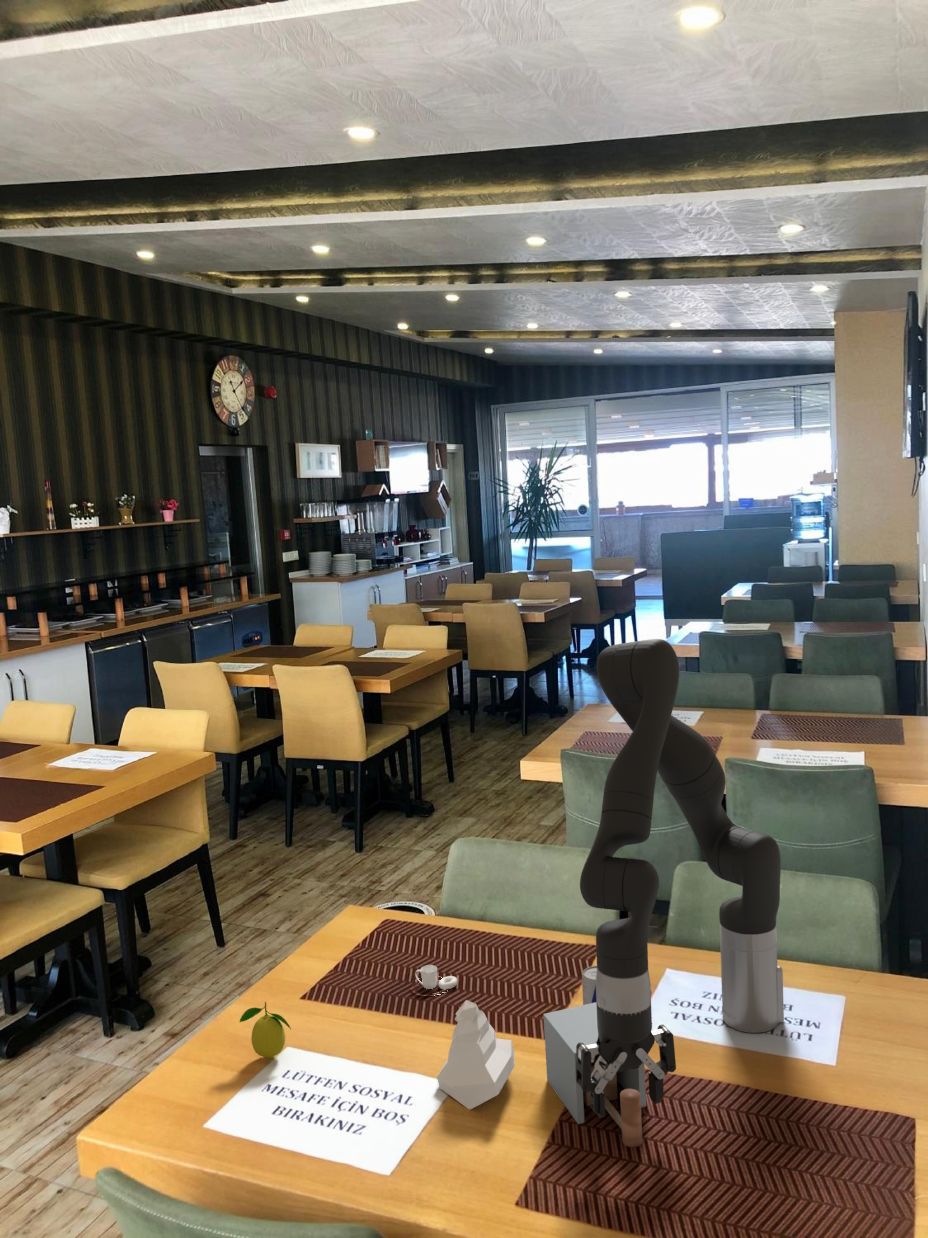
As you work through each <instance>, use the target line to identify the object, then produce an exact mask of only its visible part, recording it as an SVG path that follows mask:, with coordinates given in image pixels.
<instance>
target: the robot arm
mask: <svg viewBox="0 0 928 1238" xmlns="http://www.w3.org/2000/svg"><path fill="white" fill-rule="evenodd" d="M678 659H679V658H678V656H677V653H676V651H675V648H673V646H672V644H671V643H669V642H668V641H667V640H666V639H660V638H652V639H646V640H645V639H644V640H638V641H630V642H624V643H623V642H621V643H617V644H613V645H610V646H607V647H605V648H604V649H602V650H601V652H600V653H599V654H598V656H597V659H596V660H597V661H596V674H597V678H598V682H599V685H600V687H601V689H602V691H603V693H604V694H605V696H606V698H607V700H608V701H609V703H610V705H612V707H613V709H614V710H615V711H616V713H618V715H619V716H620V718H622V720H623V721H624V723H625V724H626V725H627V727H628V728H629V729H630V730H631V731H632V732H631V734H630V736H629V737H628V739H627V741H626V742H625V743H624V745H623V747H622V748H621V749H620V752H619V753H618V754H617V756H616V758H615V759H614V761H613V763H612V764H611V766H610V768H609V771H608V773H607V776H606V779H605V783H604V788H603V797H602V804H601V805H602V806H601V813H600V821H599V826H598V829H597V832H596V836H595V838H594V840H593V841H594V842H593V844H592V847H591V849H590V850H589V854H588V856H587V858H586V860H585V863H584V865H583V868H582V871H581V874H580V878H579V890H580V893H581V897H582V898H583V900H584V903H586V904H587V905H588V906H590V907H591V908H595V909H602V910H611V911H614V910H615V911H619V912H620V911H622V912H628V913H630V917H627V918H620V919H614V920H608V921H606V922H604V923H602V924H601V925H599V926H598V927H597V930H596V932H595V933H596V934H595V949H596V951H595V952H596V966H597V974H596V1004H597V1028H598V1039H597V1042H596V1044H591V1045H584V1043H582V1042H580V1043H578V1044H577V1046H576V1082H577V1083H578V1084H579V1086H580V1087H581V1089H582V1090H583V1091H584V1092H589V1091H590V1105H589V1106H590V1108H591V1109H592V1111H593V1112H594V1113H595V1115H597V1117H598V1118H600V1119H601V1118H604V1117H606V1108H605V1099H604V1092H603V1089H604V1088H605V1086H606V1084H607V1083H608V1081H611V1080H612V1079H613V1077H614V1075H615V1074H616V1072H617V1071H618V1072H624V1071H626V1070H628V1069H637V1068H639V1066H640V1065H641V1064H642V1063H644V1065H645V1066H646V1067H647V1068H648V1070H650V1071H649V1072H648V1073H647V1074H648V1092H649V1093H648V1096H649V1098H650V1100H651V1101H652V1102H653V1103H654V1105H657V1104H660V1103H662V1102H661V1101H662V1100H661V1099H663V1098H664V1096H665V1094H664V1092H665V1091H664V1090H665V1088H664V1078H665V1075H666V1074H668V1073H674V1072H675V1071H676V1069H677V1064H676V1063H677V1061H676V1052H675V1051H676V1049H675V1040H674V1034H673V1033H672V1032H671V1030H669V1028H668V1027H667V1026H666V1025H664V1024H659V1025H658V1026H657V1029H655V1030H653V1031H652V1029H653V1020H652V1019H653V1017H652V1015H653V1014H652V987H651V978H650V971H649V952H648V951H649V950H648V945H649V944H648V938H649V931H650V930H649V928H650V923H651V918H652V915H653V910H654V907H655V904H656V900H657V897H658V893H659V888H660V879H659V874H658V872H657V869H656V868H655V866H654V865H653V864H652V863H651V862H650V861H648V860H645V859H639V858H638V859H637V858H629V857H628V858H627V857H617V856H614V855H615V854H616V853H617V852H618V850H619V849H620V848H622V847H625V846H626V847H627V846H630V845H637V844H642V843H645V842H646V841H648V839H649V837H650V835H651V831H652V820H653V810H654V809H653V808H654V801H655V799H654V797H655V789H656V780H657V774H658V775H659V776H660V778H661V780H662V781H663V783H664V785H665V786H666V788H667V789H668V792H669V793H670V794H671V796H672V798H673V799H674V800H675V802H676V804H677V805H678V807H679V809H680V810H681V813H682V814H683V817H684V818H685V820H686V822H687V823H688V825H689V827H690V828H691V830H692V832H693V834H694V837H695V839H696V841H697V844H698V846H699V848H700V851H701V853H702V856H703V858H704V860H705V862H706V864H707V866H708V867H709V869H710V871H711V872H712V873H713V874H714V876H717V877H718V878H719V879H721V880H724V881H726V882H729V883H733V884H736V885H738V886H742V892H741V894H742V895H741V896H736V897H732V898H729V899H727V900H725V901H723V902H721V905H720V906H719V909H718V910H719V911H718V913H719V915H718V916H719V940H720V941H719V944H720V945H719V946H720V973H721V974H720V975H721V1001H722V1002H721V1003H722V1004H721V1005H722V1006H721V1009H722V1019H723V1022H724V1023H725V1024H726V1025H727V1026H728V1027H730V1028H732V1029H734V1030H737V1031H740V1032H745V1033H754V1034H755V1033H757V1034H758V1033H759V1034H760V1033H765V1032H769V1031H771V1030H774V1029H775V1028H776V1027H777V1026H778V1025H779V1024H780V1023H784V1022H785V1011H784V1010H785V1009H784V1004H785V1003H784V973H783V972H784V970H783V968H782V966H780V965H778V941H777V937H778V935H777V915H778V911H779V907H780V901H781V898H780V897H781V869H782V868H781V864H782V861H781V851H780V848H779V845H778V842H777V841H776V840H775V838H774V837H772V836H770V835H768V834H765V833H761V832H758V831H754V830H751V829H748V828H743V827H741V826H738V825H737V824H735V823H734V822H733V821H732V820H731V818H730V817H729V816H728V814H727V812H726V810H725V809H724V807H723V805H722V802H723V798H724V795H725V790H726V785H727V784H726V782H727V781H726V780H727V779H726V774H725V771H724V768H723V766H722V764H721V762H720V760H719V758H718V757H717V755H716V753H715V751H714V750H713V748H712V747H711V745H710V744H709V742H708V740H706V738H705V737H704V736H703V735H702V734H701V733H699V732H698V731H697V730H695V729H694V728H692V727H691V726H690V725H688V724H686V723H685V722H684V721H681V720H680V719H678V717H675V716H673V711H674V710H673V709H674V705H675V701H676V698H677V694H678V693H677V692H678V689H679V679H680V664H679V660H678ZM655 1043H656V1044H657V1045H658V1050H659V1061H657V1062H655V1060H653V1059H652V1057H651V1056H650V1055H649V1053H650V1051H651V1049H652V1048H653V1046H654V1044H655ZM598 1053H599V1054H600V1056H599V1058H598V1060H597V1061H596V1063H595V1068H594V1070H593V1072H592V1074H591V1063H593V1062H594V1057H595V1055H596V1054H598ZM606 1063H607V1064H608V1065H609V1067H608V1068H607V1069H606V1067H605V1066H606Z"/></svg>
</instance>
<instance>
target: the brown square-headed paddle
mask: <svg viewBox="0 0 928 1238" xmlns="http://www.w3.org/2000/svg"><path fill="white" fill-rule="evenodd" d="M599 1056H600V1054H597V1055H595V1057H594V1062H593V1063H591V1074H592V1072H593V1070H594V1068H595V1063H596V1061H597V1060H598V1058H599ZM605 1067H606V1069H607V1068H608V1067H609V1065H608V1064H607V1063H606V1066H605ZM603 1092H604V1099H605V1111H607V1112H608V1113H609V1115H610V1117H611V1118H612V1119H613V1120H614V1122H615V1123H616V1124H617V1125H618V1127H619V1128H620V1129H621V1141H622V1144H623V1145H624V1146H626V1147H629V1148H638V1147H640V1146H641V1145H642V1144H643V1127H642V1108H641V1099H640V1093H639V1092H638V1091H637V1090H635V1089H623V1090H621V1092H620V1093H619V1099H620V1113H619V1112H618V1111H617V1109H616V1108H615V1107H614V1105H612V1103H611V1102H610V1101H612V1100H616V1099H618V1080H617V1077H616V1074H615V1075H614V1077H613V1079H612V1080H611V1081H608V1083H607V1084H606V1086H605V1088H604V1089H603ZM583 1103H584V1104H585V1105H586V1106H587V1107H589V1106H590V1091H589V1092H584V1091H583Z"/></svg>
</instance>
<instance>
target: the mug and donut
mask: <svg viewBox="0 0 928 1238" xmlns="http://www.w3.org/2000/svg"><path fill="white" fill-rule="evenodd" d="M418 972H419V973H420V976H421V978H422V982H421V981H420V980H419V979H420V978H419V977H418V975H417V973H418ZM437 976H438V967H437V966H436V965H434V964H426V965H423V966H421V968H420V969H417V970H415V973H414V977H415V978H416V980H418V981H419V983H420V985H421V986H423V989H425V988H426V989H425V990H427V989H432V990H434V989H433V988H435V987H437V984H438V987H439V989H440V990H446V989H450V990H451V989H453V988H455V987H456V986H457V985H458V978H457V977H456V976H453V975H448V976H445V977H443V978H442V976H440V977H441V978H442V979H441V980H437ZM435 989H436V988H435ZM447 992H449V991H448V990H447ZM447 992H442V993H444V994H446V993H447ZM437 995H439V996H442V995H441V994H437ZM434 996H435V995H434ZM435 997H436V996H435Z"/></svg>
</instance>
